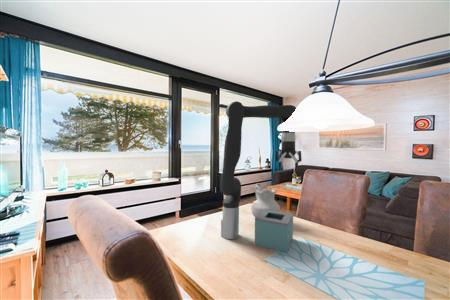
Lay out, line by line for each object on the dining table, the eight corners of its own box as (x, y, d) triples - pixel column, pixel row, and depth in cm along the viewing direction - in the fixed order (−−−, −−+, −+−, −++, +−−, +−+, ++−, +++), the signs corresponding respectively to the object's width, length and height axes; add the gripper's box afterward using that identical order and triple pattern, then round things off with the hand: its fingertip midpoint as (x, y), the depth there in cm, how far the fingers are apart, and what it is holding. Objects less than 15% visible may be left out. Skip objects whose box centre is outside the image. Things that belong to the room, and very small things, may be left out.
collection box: (254, 244, 108) (254, 218, 107) (263, 232, 122) (264, 209, 122) (287, 252, 100) (287, 224, 100) (292, 238, 115) (293, 213, 114)
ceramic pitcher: (243, 220, 145) (241, 185, 143) (262, 212, 156) (261, 180, 154) (267, 231, 128) (265, 191, 125) (286, 221, 139) (285, 185, 137)
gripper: (302, 140, 119) (302, 168, 119) (277, 141, 126) (277, 167, 126) (300, 140, 112) (300, 170, 113) (274, 140, 119) (274, 168, 119)
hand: (288, 168), depth 119 cm, fingers open, 8 cm apart
